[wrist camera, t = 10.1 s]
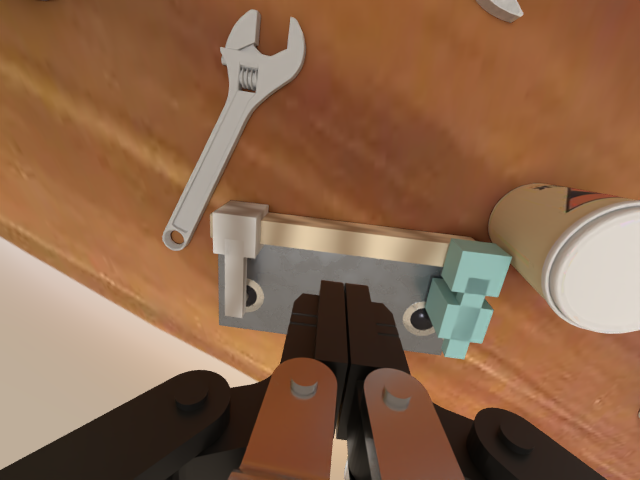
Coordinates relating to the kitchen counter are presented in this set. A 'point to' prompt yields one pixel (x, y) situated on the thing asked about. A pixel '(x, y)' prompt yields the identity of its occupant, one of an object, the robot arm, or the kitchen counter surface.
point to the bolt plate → (313, 266)
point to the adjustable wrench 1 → (235, 113)
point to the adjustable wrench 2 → (502, 9)
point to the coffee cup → (575, 252)
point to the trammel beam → (309, 242)
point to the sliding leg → (466, 293)
